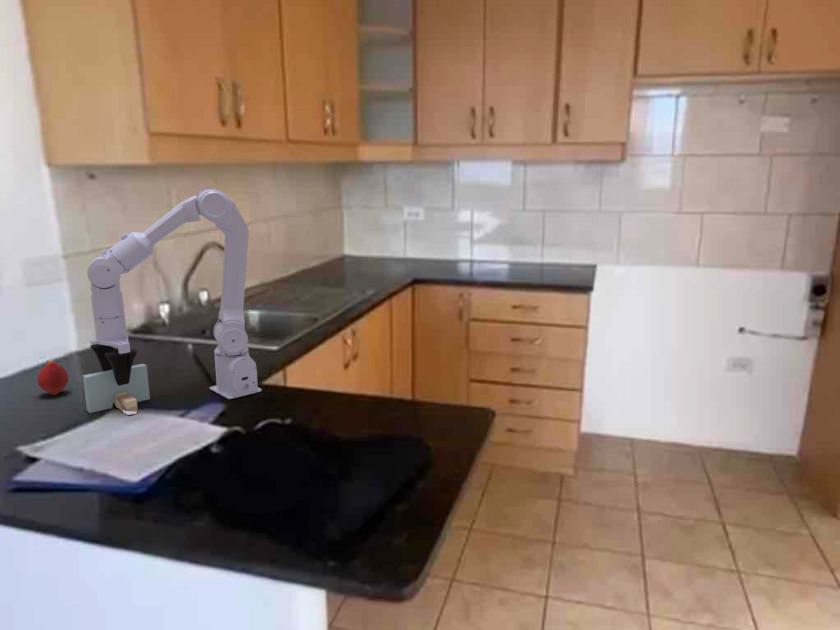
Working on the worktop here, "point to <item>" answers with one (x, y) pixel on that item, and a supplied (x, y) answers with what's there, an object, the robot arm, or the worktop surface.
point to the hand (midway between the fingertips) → (116, 380)
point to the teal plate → (114, 388)
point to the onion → (52, 378)
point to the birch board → (125, 402)
